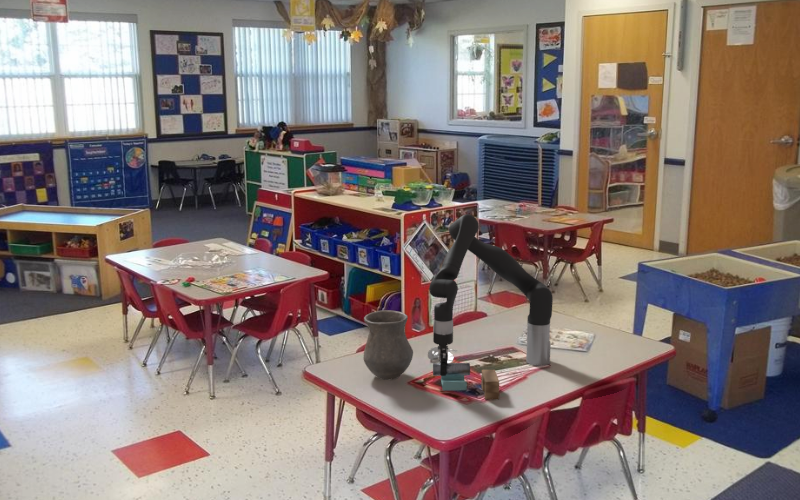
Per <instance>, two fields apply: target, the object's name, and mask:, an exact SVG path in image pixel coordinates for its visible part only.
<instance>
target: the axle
mask: <svg viewBox="0 0 800 500" xmlns="http://www.w3.org/2000/svg"><path fill="white" fill-rule="evenodd" d="M447 365H448V366H447V367H446V376H460V375H464V376H470V375H471V364H470V362H450V363H447ZM432 376H433V377H436V376H438V377H439V376H440V377H441V375H440V362H433V363H432Z"/></svg>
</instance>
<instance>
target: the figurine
mask: <svg viewBox="0 0 800 500" xmlns="http://www.w3.org/2000/svg"><path fill="white" fill-rule="evenodd" d="M451 352H452V353H456V352H458V350H456V349H453V348H452V349H451V348H450V349H449V352H448V360H447V363H453V360H454V359H455V358H454V354H452V353H451ZM427 358H428V359H429V360H436V359H439V356H438V346H433V347H431V348H430V349H428V352H427Z"/></svg>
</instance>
